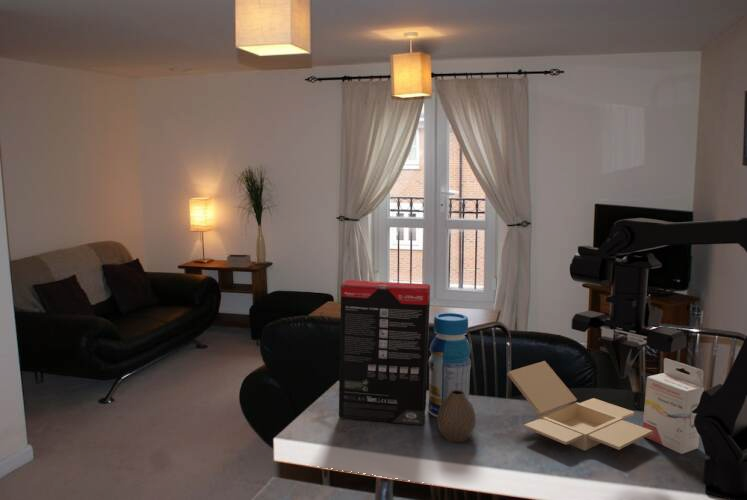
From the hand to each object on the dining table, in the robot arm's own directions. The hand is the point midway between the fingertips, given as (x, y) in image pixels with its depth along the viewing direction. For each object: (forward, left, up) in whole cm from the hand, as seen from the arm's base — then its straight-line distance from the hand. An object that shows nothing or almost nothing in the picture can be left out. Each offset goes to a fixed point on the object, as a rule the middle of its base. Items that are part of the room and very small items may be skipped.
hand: (622, 377), depth 112 cm
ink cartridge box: (-8, -7, -13) cm, 17 cm away
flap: (+12, -5, -10) cm, 16 cm away
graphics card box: (+42, +11, -13) cm, 46 cm away
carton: (+4, -2, -13) cm, 14 cm away
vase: (+26, +12, -13) cm, 32 cm away
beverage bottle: (+32, +2, -13) cm, 35 cm away
